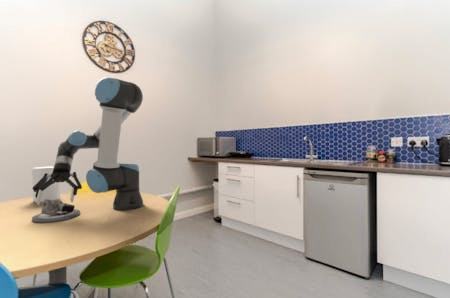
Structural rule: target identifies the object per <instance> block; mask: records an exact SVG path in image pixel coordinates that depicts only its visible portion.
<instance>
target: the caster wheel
mask: <svg viewBox="0 0 450 298" xmlns="http://www.w3.org/2000/svg"><path fill="white" fill-rule="evenodd" d="M75 207H76V206H75V205H74V204H69V203H66V202H65V203H64V202H63V201H62V200H61V199H58V200H48V199H45V200H44V202H43V205H42V208H41V212H40V213H41V214H46V215H53V216H57V213H58V212H72V211H74V209H75Z"/></svg>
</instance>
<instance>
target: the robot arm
mask: <svg viewBox="0 0 450 298" xmlns="http://www.w3.org/2000/svg"><path fill="white" fill-rule="evenodd" d="M94 96H95V99H96V101H97V102H98V103H99V107H100V108H101V110H102V114H101V123H100V126H98V128H97V130H95V132H94V133H93V134H86V133H84V131H80V130H74V131H72V132H71V133H70V134H69V136H68V137H67V138H66V139H65V141H62V142H61V143H60V144H59V146H58V149H57V154H56V157H55V161H54V165H53V166H54V169H53V173H52V174H47V173H45V174H44V176H43V178H42V179H41V180H40V181H39V182H38V183H37V184H36V185H35V186H34V187H33V186H32V188H31V189H32V192H33V191H34V192H36V195H35V196H36V198H37V199H36V202H35V203H36V205H37V206H40V204H41V202H40V201H41V197H42V191H43V190H45V189H46V188H47V187H49V186H50V185H51V184H54V183H55V182H56V183H58V182H60V183H67V184H68V185H69V186H70V187H71V192H70V199H69V200H70V202H71V203H73V202H74V199H75V196H77V194H78V190H82V189H83V186H82V183H81V181H79V178H78V177H77V172H76V171H73V172H72V173H71V171H72V165H73V160H74V156H75V154H76V153H77V152H78V151H79V150H84V149H86V150H87V149H98V151H97V152H98V153H97V160H95V162H93V165H92V168H91V169H89V170H88V171H87V173H86V176H85V179H86V180H85V181H86V184H87V186H88V188H89V189H90V190H91V192H93V193H96V194H102V193H108V192H112V191H115V196H114V198H113V203H112V209H114V210H116V211H128V210H134V209H140V208H141V207H143V206H144V199H143V197H142V195H141V194H142V193H141V192H140V191H141V190H140V169H139V165H138V164H135V163H120V162H119V163H118V155H119V148H120V147H119V146H120V140H121V139H120V137H121V131H122V124H123V123H124V122H126V120H127V119H128V118H129V116H130V115H131V114H135V113H136V112H137V111H138V110H139V109H140V107H141V105H142V103H143V99H144V97H143V96H144V95H143V91H142V89H141V88H140V86H139V85H137V84H136V83H134V82H130V81H127V80H123V79H118V78H114V77H103V78H101V79H100V80H98V82H97V83H96V86H95V89H94ZM50 177H51V178H50ZM49 178H50V179H49ZM70 178H73V179H74V182H75V183H76V184H75V183H74V182H73V181H72V179H70ZM48 179H49V180H48ZM47 180H48V181H47ZM46 181H47V182H46Z"/></svg>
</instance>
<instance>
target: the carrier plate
mask: <svg viewBox="0 0 450 298" xmlns="http://www.w3.org/2000/svg"><path fill="white" fill-rule="evenodd" d="M80 215H81V210H80V209H76V208H74V211H72V212H58V213H57V216H53V215H46V214H41V212H40V213H38V214H36V215H34V216H32V217H31V221H32V223H37V224H38V223H39V224H46V223H47V224H49V223H50V224H51V223H56V222H57V223H58V222H63V221H68V220H70V219H73V218H76V217H78V216H80Z"/></svg>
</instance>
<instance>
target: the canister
mask: <svg viewBox="0 0 450 298" xmlns="http://www.w3.org/2000/svg"><path fill="white" fill-rule="evenodd" d="M53 169H54V165H47V166H35V167H32V169H31V175H32V188H33V187H34V186H35V185H36V184H37V183H38V182H39V181H40V180H41V179H42V178H43V176H44V174H45V173H47V174H52V173H53ZM50 178H51V177H50ZM50 178H49V179H50ZM49 179H48V180H49ZM48 180H47V181H48ZM47 181H46V182H47ZM60 183H61V182H58V183H56V182H55V183H54V184H51V185H50V186H49V187H47V188H46V189H45V190H43V191H42V197H41V201H40V203H44V200H45V199H48V200H61V185H60ZM32 193H33V194H32V195H33V197H32V199H33V202H34V203H36V199H37V198H36V196H35V195H36V192H34V191H33V190H32Z"/></svg>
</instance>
